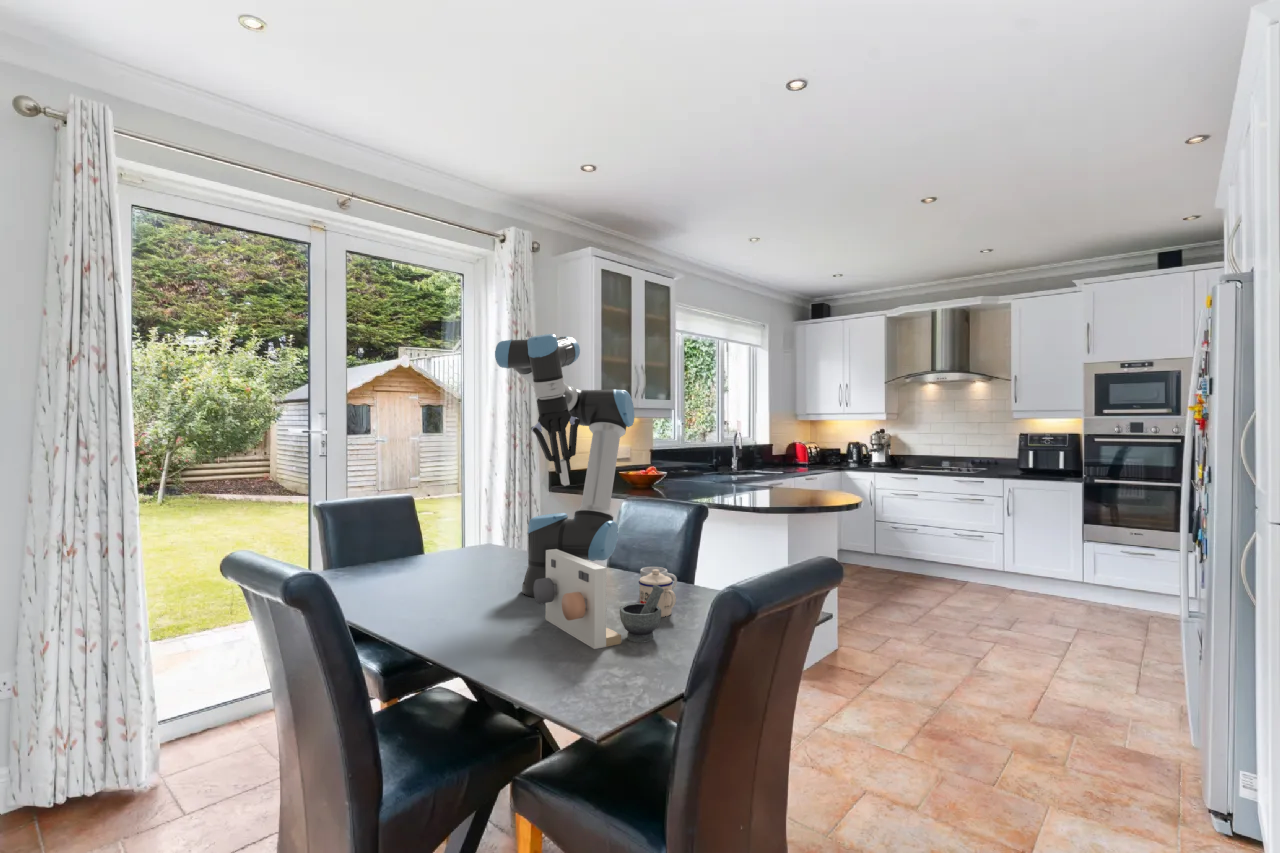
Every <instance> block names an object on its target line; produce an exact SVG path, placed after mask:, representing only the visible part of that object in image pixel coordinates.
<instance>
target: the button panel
mask: <svg viewBox="0 0 1280 853" xmlns="http://www.w3.org/2000/svg"><path fill="white" fill-rule="evenodd" d="M546 578H550V579H551V580H552V582H553V584H554V585H557V593H555V595H554V599H553V601H552V602H548V603H545V620H546V621H547V622H549V623H550V624H551V625H554V626H555V627H557V628H559V629H560V630H562V631H564V632H565V633H567V634H568V635H570V636H572V637H573V638H576V640H578V641H580V642H581V643H583V644H585V645H587V646H588V647H590V648H591V649H594V650H597V649H601V648H607V647H611V646H616V645H621V644H622V634H620V633H618V632H616V631H615V630H613V629H611V628H608V626H607V567H605V566H602V565H600V564H597V563H595V562H593V561H592V562H591V561H590V560H584V559H582V558H579V557H576V556H574V555H571V554H568V553H566V552H563V551H560V550H558V549H551V550H546ZM572 592H580V593H581V594H582V595H583V597H584V600H585V599H587V608H585V615H584V617H583V618H580V619H574V620H567V619H566V618H565V616H564V614H563V611H562V598H563V595H564V594H566V593H572Z"/></svg>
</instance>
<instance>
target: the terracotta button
mask: <svg viewBox="0 0 1280 853" xmlns="http://www.w3.org/2000/svg"><path fill="white" fill-rule="evenodd" d="M585 608H587V599H585V600H584V597H583V595H582V594H581V593H580V592H572V593H566V594H564V595H563V598H562V611H563V614H564V616H565V618H566V619H567V620H574V619H580V618H583V617H584V615H585Z"/></svg>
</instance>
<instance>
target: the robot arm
mask: <svg viewBox="0 0 1280 853" xmlns="http://www.w3.org/2000/svg"><path fill="white" fill-rule="evenodd" d="M580 354H581V348H580V345H579V342H578V341H577V340H576V339H575V338H573V337H571V336H559V337H557V336H556V334H554V333H548V334H547V333H546V334H539V335H534V336H533V335H532V336H531V337H528V338H527V339H507V340H501V341H499V342H498V343H497V344H496V347H495V351H494V358H495V361H496V364H497V365H498V367H499V368H502V369H503V368H504V369H514V371H516V372H517V373H518V374H519V375H520V376H521V378H524V380H525V381H526V382H527V383H528V384H530V385H531V386H532V387H533V388H534V393H535V397H537V399H536V403H537V404H536V405H537V410H538V419H537V423H536V424H535V425H534V426H531V427H530V430H531V432H533V434H534V435H536V436H535V437H536V438H537V442H538V444H539V446H540V448H541V449H542V452H543V454H544V457H545V459H546V460H547V461H549V462H553V464H554V470H555V473H556V474H558V475H559V479H560V484H561V485H562V486H564V487H566V486H569V485H571V484H570V477H569V472H571V470H572V467H571V461H570V460H571V458H572V457H574V456H576V454H577V441H578V428H579V426H582V427H588V430H589V431H590V433H592V436H591V444H590V449H589V455H588V456H589V457H588V461H587V466H586V467H587V468H586V473H585V474H586V475H585V480H584V486H583V493H582V497H581V498H582V499H581V504H580V507H579V508H578V509H576V510H575V511H574V516H573V518H569V516H568V514H567V513H566V512H560V513H559V512H558V513H549V514H548V513H547V514H542V515H537V516H533V517H531V518H530V519H529V521H528V528H527V552H528V553H527V556H528V557H527V560H528V562H527V570H526V572H525V576H524V578H523V579H524V580H523V581H522V584H521V586H522V587H521V589H522V590H521V592H522V594H523V595H524V594H525V595H524V596H528V597H530V596H531V598H535V597H534V591H533V587H534V582H535V580H536V579H542V578H546V550H551V549H558V550H560V551H563V552H566V553H568V554H571V555H574V556H576V557H579V558H582V559H584V560H587V561H590V562H591V561H592V562H595V561H602V562H603V561H606V560H609V558H610V557H611V556H613V554H614V551H615V550H616V546H617V544H618V539H619V532H618V531H619V526H618V524H617V522H616V521H614V516H613V514H612V513H611V511H610V509H611V508H610V507H611V502H612V494H613V488H614V481H615V474H616V468H617V460H618V454H619V446H620V440H621V438H622V437H624V435H626V432H627V428H630V427H632V426H633V425H634V422H635V408H634V402H633V399H632V397H631V395H630V393H629V392H628V391H627V390H625V389H616V388H614V389H613V388H612V389H577V388H575V387H573V386H572V385H571V384H567V383H566V382H565V381H564V375H563V370H562V368H565V367H568V366H570V365H572V364H573V363H575V362H576V361H577V360H578V358H579V357H580ZM568 424H570V426H569V435H568V436H569V438H568V440H567V430H566V428H567V426H568ZM543 430H545V431H546V432H547V435H548V438H549V443H550V444H549V445H550V448H549V446H548V443H547V441H546V438H545V437H544V434H543V433H542V431H543ZM557 436H558V437H557ZM558 439H559V444H560V451H561V457H562V458H561V457H560V452H559V444H558Z"/></svg>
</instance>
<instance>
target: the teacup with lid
mask: <svg viewBox="0 0 1280 853" xmlns="http://www.w3.org/2000/svg"><path fill="white" fill-rule="evenodd" d="M638 583H639V603H642V604H645V603H646V602H647V600H648V598H649V596H650V594H651V592H652V590H653V586H654V585H658V586H660V587H662V588H663V589H664V592H663V593H662V594H661V596H660V599H659V602H658V604H657V606H658V607H659V608H660V609H661V618H666V617H669V616H671V615H672V614H673V613H672V611H673V610H672V609H673V608H674V607H675V605H676V602H677V598H676V593H675V592H674V591H673V590H672V586H673V584H674V580H673V578H672V577H667V576H664V575H663V574H661V573H659V570H658V569H654V570H652V573H650V574H648V575H647V576H644V577H641V576H640V578H639V580H638ZM665 616H666V617H665Z"/></svg>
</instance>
